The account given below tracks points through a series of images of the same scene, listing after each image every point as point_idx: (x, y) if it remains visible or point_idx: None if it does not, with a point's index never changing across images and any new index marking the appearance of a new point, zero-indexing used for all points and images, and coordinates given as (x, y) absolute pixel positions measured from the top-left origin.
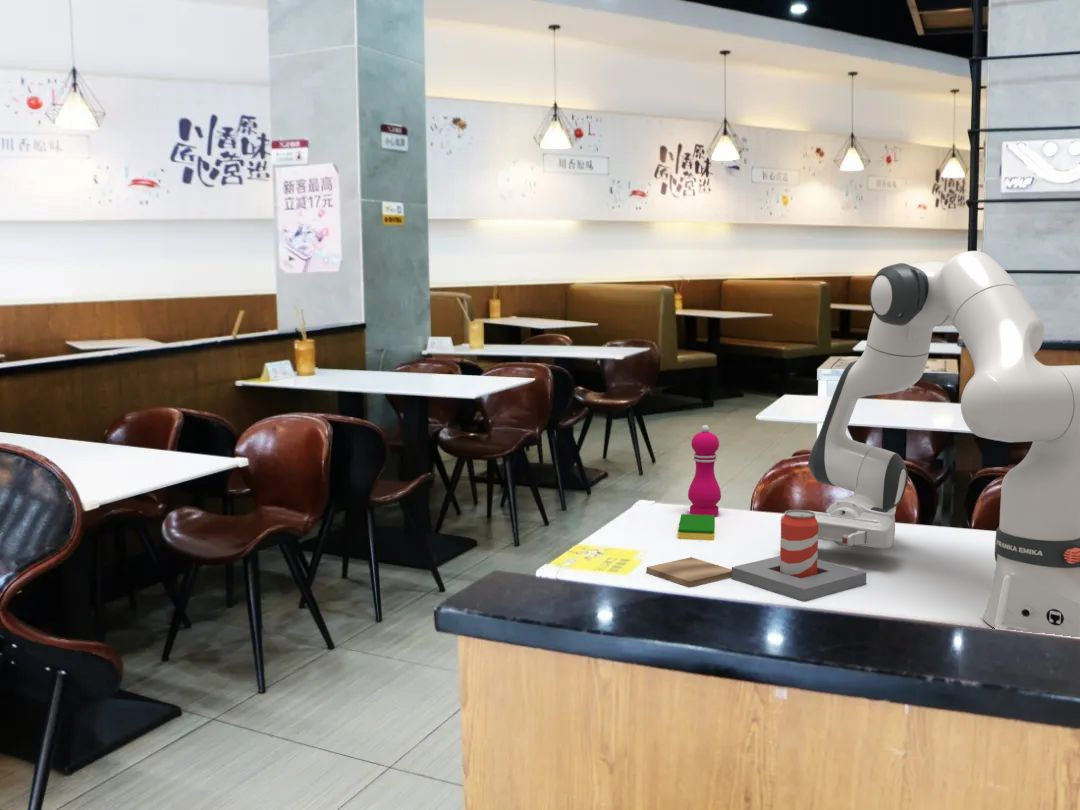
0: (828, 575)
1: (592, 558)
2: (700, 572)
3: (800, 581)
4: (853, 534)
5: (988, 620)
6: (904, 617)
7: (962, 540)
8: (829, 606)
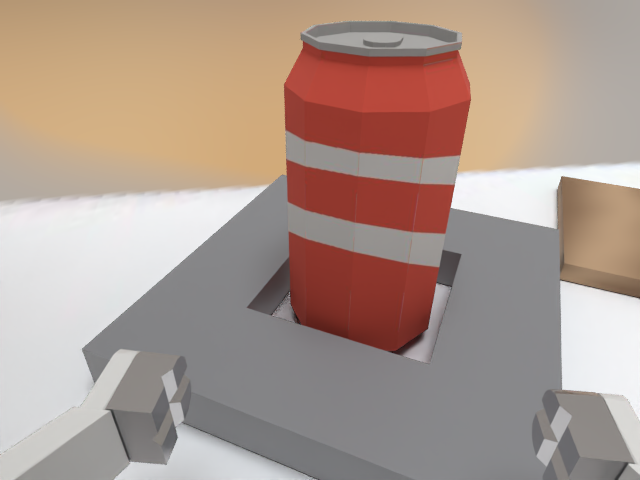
0: (241, 267)
1: None
2: (616, 220)
3: None
4: (85, 401)
5: None
6: (40, 201)
7: None
8: (218, 199)
